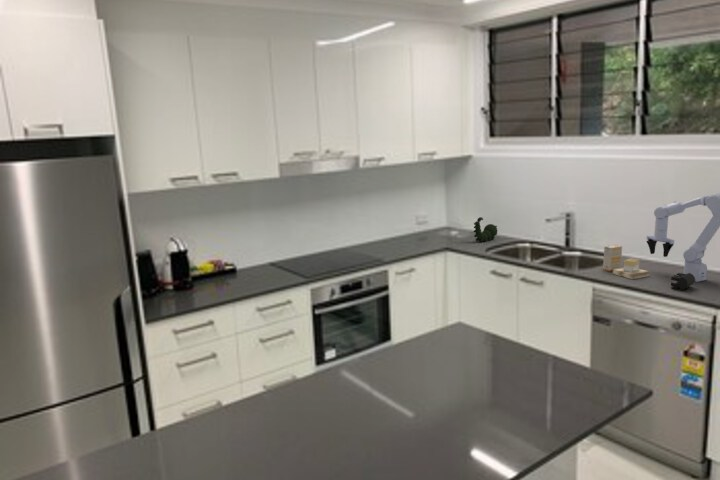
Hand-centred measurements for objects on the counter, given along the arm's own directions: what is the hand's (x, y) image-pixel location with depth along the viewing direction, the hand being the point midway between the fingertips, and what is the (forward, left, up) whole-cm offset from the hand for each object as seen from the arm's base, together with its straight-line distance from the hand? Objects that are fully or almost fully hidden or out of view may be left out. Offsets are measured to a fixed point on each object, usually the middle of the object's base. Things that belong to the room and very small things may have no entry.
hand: (658, 255), depth 280 cm
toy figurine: (+115, +25, -10) cm, 118 cm away
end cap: (-25, +15, -10) cm, 31 cm away
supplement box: (+16, +15, -10) cm, 24 cm away
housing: (+3, +16, -7) cm, 18 cm away
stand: (+3, +16, -9) cm, 19 cm away
